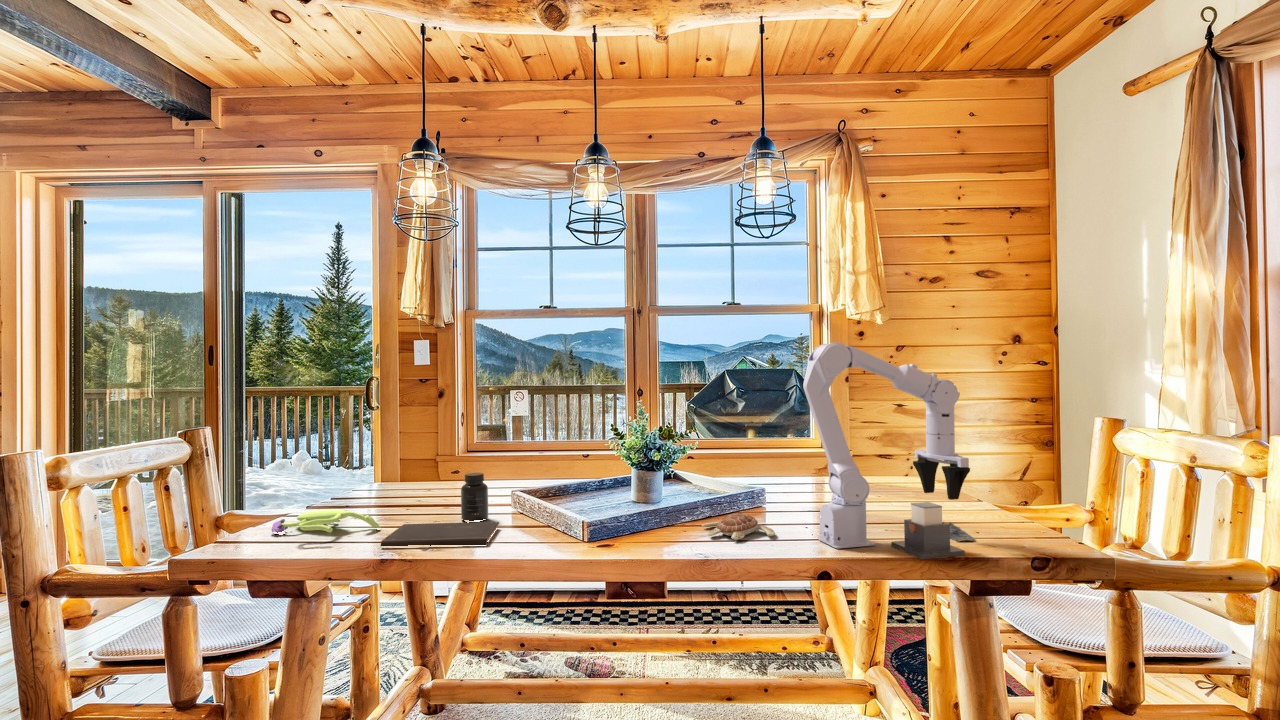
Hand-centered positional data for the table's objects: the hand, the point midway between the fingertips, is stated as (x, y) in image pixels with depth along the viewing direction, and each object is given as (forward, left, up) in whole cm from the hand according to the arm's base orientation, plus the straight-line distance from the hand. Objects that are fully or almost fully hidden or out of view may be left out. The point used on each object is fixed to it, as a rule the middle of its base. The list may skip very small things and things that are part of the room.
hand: (940, 495), depth 141 cm
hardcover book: (-107, +35, -11) cm, 113 cm away
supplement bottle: (-100, +52, -10) cm, 113 cm away
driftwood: (+8, +8, -11) cm, 16 cm away
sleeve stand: (-8, -5, -10) cm, 14 cm away
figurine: (-135, +50, -11) cm, 144 cm away
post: (-8, -5, -9) cm, 13 cm away
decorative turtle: (-40, +20, -11) cm, 46 cm away
